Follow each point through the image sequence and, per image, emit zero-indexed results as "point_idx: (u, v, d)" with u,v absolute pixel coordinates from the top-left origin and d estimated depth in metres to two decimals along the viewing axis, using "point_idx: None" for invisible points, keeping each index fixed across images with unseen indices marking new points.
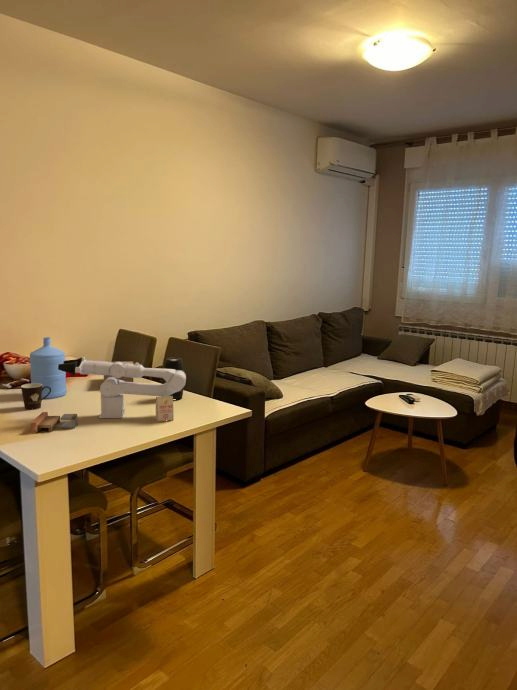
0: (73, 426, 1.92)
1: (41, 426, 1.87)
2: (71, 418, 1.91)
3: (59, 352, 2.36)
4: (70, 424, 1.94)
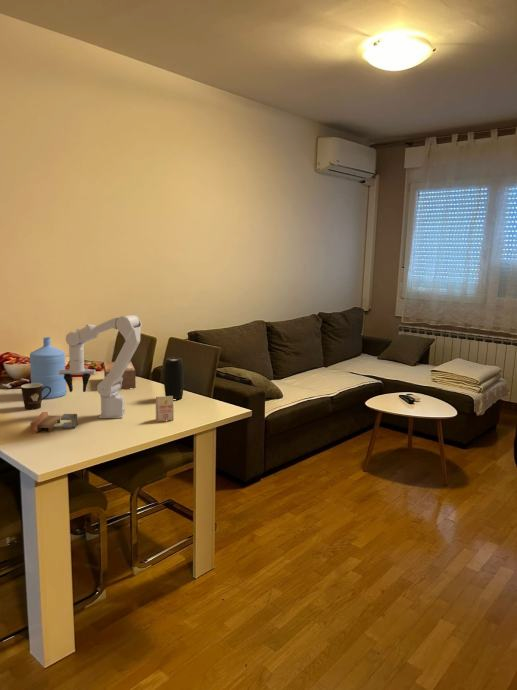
0: (73, 426, 1.92)
1: (41, 426, 1.87)
2: (71, 418, 1.91)
3: (59, 352, 2.36)
4: (70, 424, 1.94)
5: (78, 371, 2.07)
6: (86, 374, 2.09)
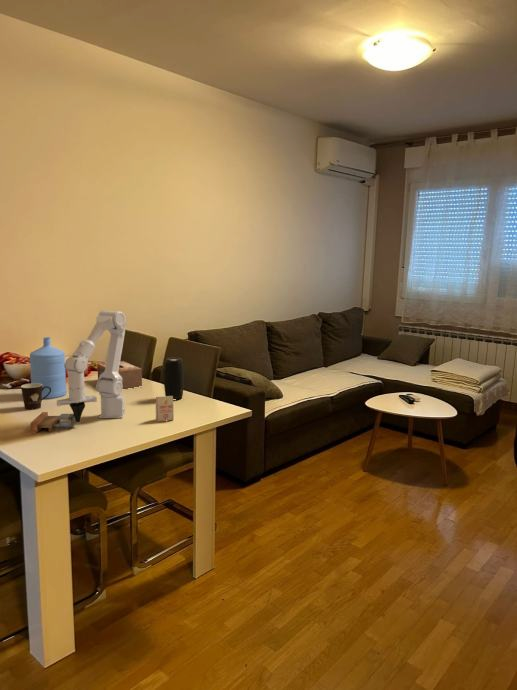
0: (70, 426, 1.92)
1: (41, 426, 1.87)
2: (68, 418, 1.91)
3: (59, 352, 2.36)
4: (67, 424, 1.94)
5: (81, 399, 1.91)
6: None
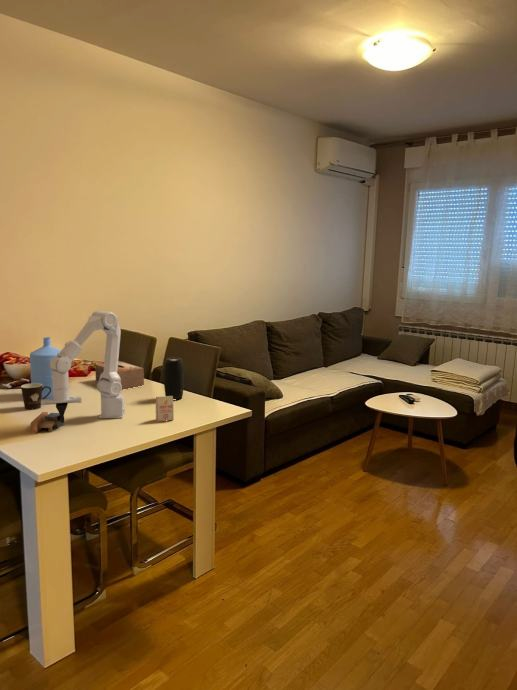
0: (56, 425, 1.92)
1: (41, 426, 1.87)
2: (54, 417, 1.91)
3: (59, 352, 2.36)
4: None
5: (64, 400, 1.90)
6: None
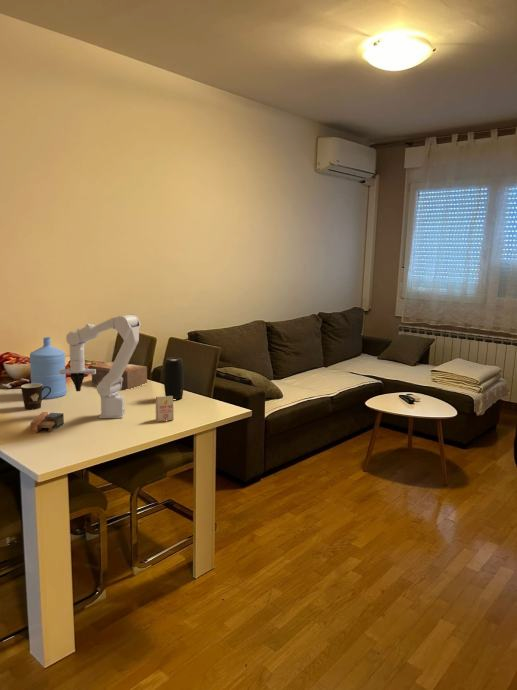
0: (56, 425, 1.92)
1: (41, 426, 1.87)
2: (54, 417, 1.91)
3: (59, 352, 2.36)
4: None
5: (79, 371, 2.08)
6: None
